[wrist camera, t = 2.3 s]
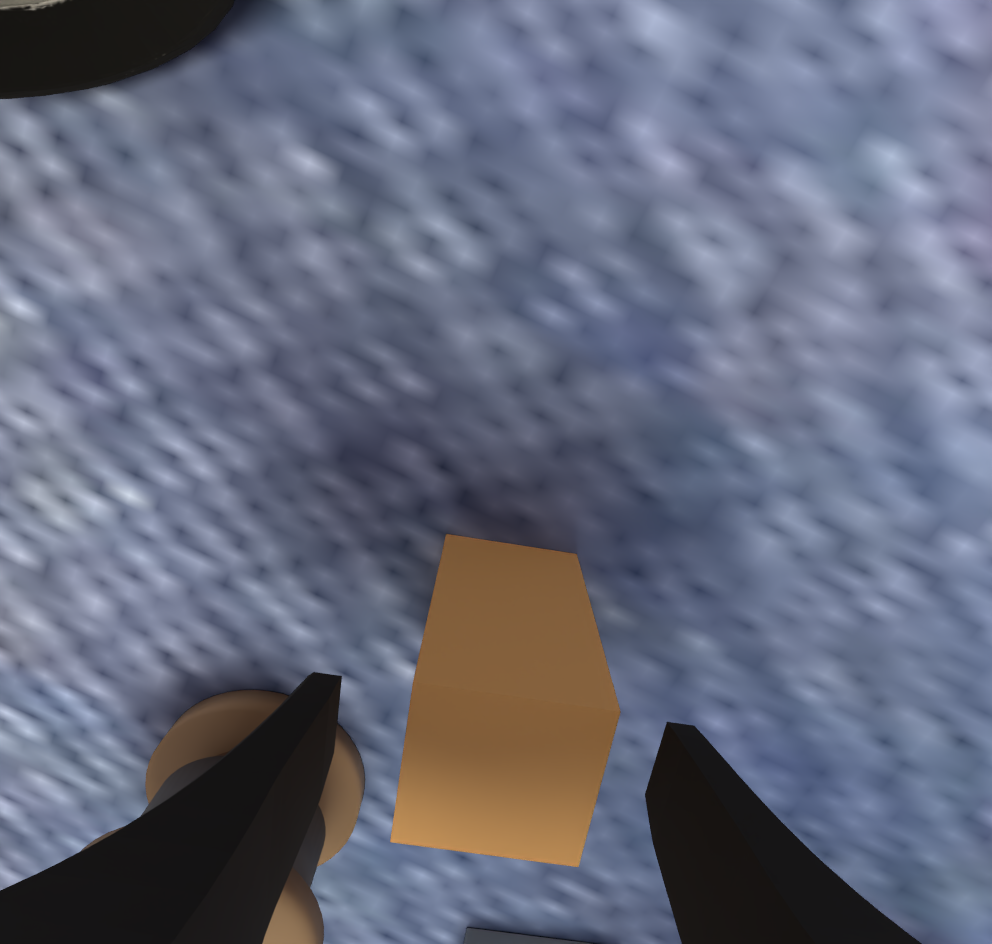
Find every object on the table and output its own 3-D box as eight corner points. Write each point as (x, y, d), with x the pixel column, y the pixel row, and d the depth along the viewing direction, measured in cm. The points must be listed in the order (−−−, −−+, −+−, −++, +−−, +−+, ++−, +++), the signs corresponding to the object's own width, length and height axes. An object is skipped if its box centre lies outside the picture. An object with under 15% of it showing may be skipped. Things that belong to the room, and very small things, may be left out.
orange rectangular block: (577, 554, 18) (620, 711, 11) (551, 665, 19) (578, 867, 13) (446, 534, 18) (413, 681, 11) (429, 647, 19) (390, 842, 12)
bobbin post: (374, 706, 20) (322, 878, 14) (355, 863, 22) (303, 1069, 16) (161, 675, 19) (19, 839, 14) (162, 838, 22) (40, 1038, 16)
